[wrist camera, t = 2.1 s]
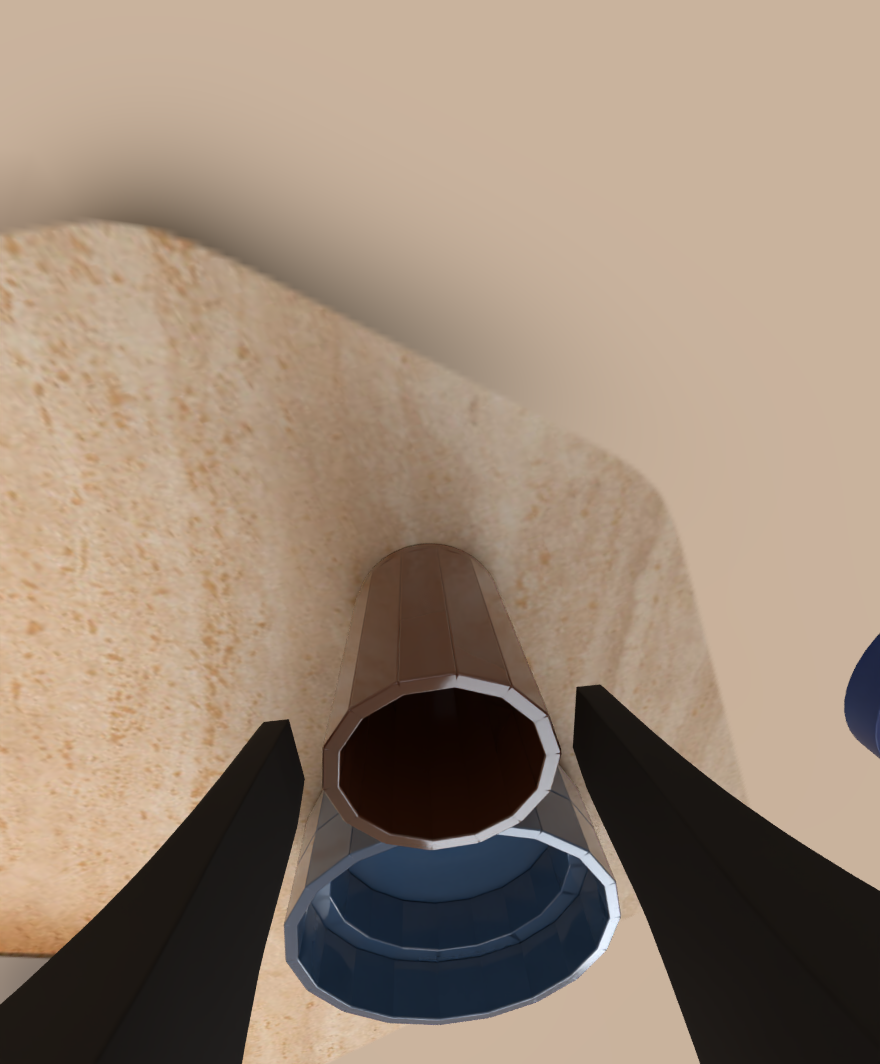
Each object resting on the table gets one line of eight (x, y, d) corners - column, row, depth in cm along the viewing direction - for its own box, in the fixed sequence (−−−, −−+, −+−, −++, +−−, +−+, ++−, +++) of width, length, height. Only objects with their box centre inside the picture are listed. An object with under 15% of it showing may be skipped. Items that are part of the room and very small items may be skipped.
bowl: (605, 721, 19) (661, 822, 15) (548, 902, 23) (578, 1018, 19) (309, 714, 17) (278, 823, 13) (311, 908, 22) (288, 1033, 18)
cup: (508, 546, 15) (583, 677, 9) (487, 669, 17) (535, 850, 11) (359, 537, 15) (322, 668, 8) (354, 664, 17) (321, 852, 10)
